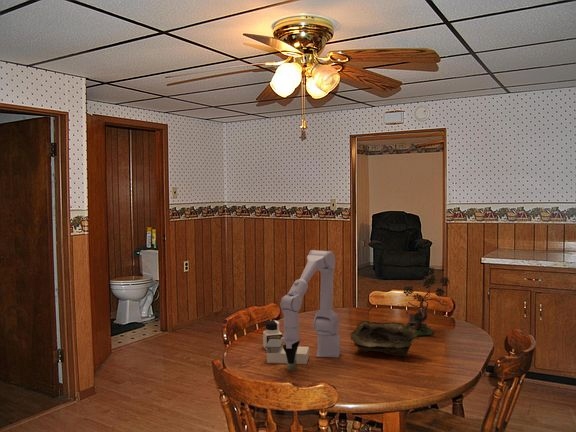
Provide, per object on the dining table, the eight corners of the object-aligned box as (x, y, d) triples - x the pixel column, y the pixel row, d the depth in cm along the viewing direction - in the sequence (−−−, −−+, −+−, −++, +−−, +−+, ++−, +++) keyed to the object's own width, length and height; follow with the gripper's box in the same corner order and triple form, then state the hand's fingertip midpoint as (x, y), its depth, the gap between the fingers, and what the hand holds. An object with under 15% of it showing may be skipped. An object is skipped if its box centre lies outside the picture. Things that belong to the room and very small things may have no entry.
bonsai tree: (450, 342, 228) (449, 272, 227) (394, 338, 236) (394, 270, 235) (450, 323, 261) (450, 262, 260) (402, 320, 269) (401, 261, 268)
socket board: (309, 355, 212) (309, 339, 212) (306, 364, 201) (306, 347, 201) (270, 354, 214) (269, 338, 214) (265, 363, 203) (265, 346, 203)
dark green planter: (418, 370, 206) (426, 337, 214) (411, 354, 198) (420, 321, 206) (354, 357, 221) (364, 327, 229) (345, 342, 213) (356, 312, 221)
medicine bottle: (266, 351, 219) (266, 323, 219) (263, 346, 226) (262, 319, 226) (282, 349, 221) (282, 322, 221) (278, 345, 228) (278, 318, 228)
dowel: (297, 367, 197) (296, 347, 197) (295, 370, 194) (295, 350, 193) (288, 367, 198) (287, 347, 197) (286, 370, 194) (286, 349, 194)
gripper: (283, 321, 203) (284, 355, 203) (277, 331, 188) (278, 367, 189) (301, 322, 202) (301, 356, 202) (296, 331, 187) (297, 368, 188)
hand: (291, 361), depth 196 cm, fingers closed on dowel, 3 cm apart
